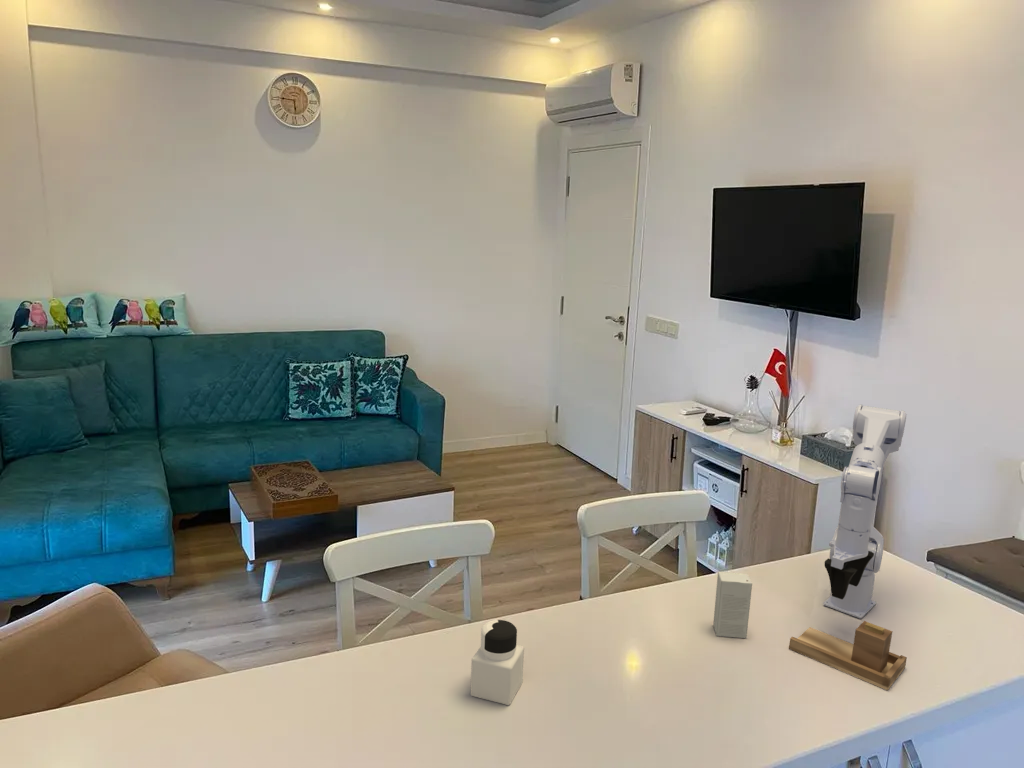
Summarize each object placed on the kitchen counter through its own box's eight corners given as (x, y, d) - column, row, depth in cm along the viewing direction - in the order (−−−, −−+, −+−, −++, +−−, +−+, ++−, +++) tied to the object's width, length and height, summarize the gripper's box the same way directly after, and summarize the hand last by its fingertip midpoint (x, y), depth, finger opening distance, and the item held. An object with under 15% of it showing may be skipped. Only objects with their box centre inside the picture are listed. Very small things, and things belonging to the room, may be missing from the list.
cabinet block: (859, 654, 142) (864, 616, 140) (886, 665, 139) (893, 627, 137) (850, 663, 139) (856, 625, 137) (878, 675, 136) (885, 636, 134)
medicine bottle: (523, 682, 130) (525, 620, 128) (509, 706, 124) (512, 641, 121) (485, 673, 133) (487, 611, 130) (469, 696, 126) (471, 632, 123)
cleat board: (809, 629, 151) (810, 619, 151) (905, 667, 139) (906, 657, 139) (788, 648, 144) (790, 638, 144) (887, 690, 132) (889, 679, 132)
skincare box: (742, 627, 151) (748, 573, 148) (746, 639, 147) (753, 583, 144) (711, 625, 152) (717, 570, 149) (715, 636, 147) (721, 580, 145)
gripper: (846, 510, 152) (838, 572, 155) (819, 530, 142) (810, 595, 145) (883, 521, 147) (873, 584, 150) (857, 542, 137) (847, 609, 140)
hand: (844, 590), depth 147 cm, fingers open, 7 cm apart
